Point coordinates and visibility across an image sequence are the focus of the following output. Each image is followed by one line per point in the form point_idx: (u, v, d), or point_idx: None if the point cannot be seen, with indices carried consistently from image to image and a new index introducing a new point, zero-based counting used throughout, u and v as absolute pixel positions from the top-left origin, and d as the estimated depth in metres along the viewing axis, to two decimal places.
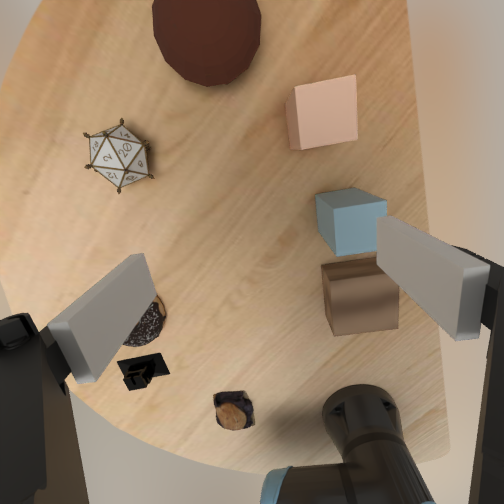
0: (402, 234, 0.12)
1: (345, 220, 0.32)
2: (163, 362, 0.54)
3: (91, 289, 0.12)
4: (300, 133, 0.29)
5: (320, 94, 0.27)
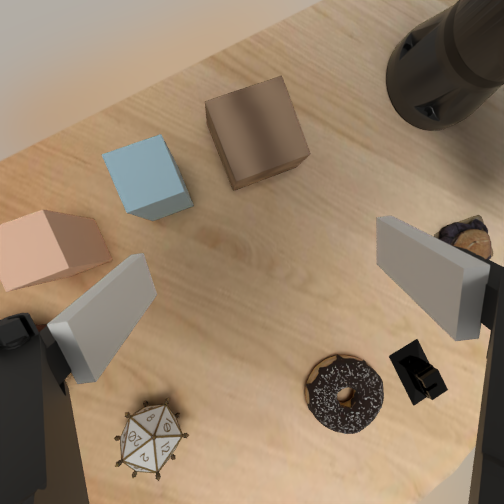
0: (402, 234, 0.12)
1: (137, 194, 0.27)
2: (402, 349, 0.43)
3: (91, 289, 0.12)
4: (52, 273, 0.26)
5: (7, 262, 0.25)
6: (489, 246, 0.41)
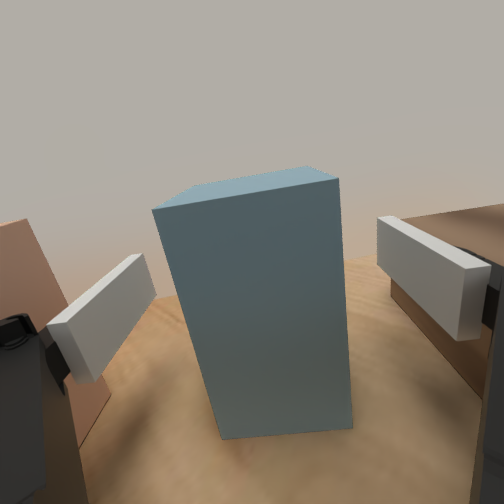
0: (403, 234, 0.12)
1: (206, 195, 0.10)
2: None
3: (90, 289, 0.11)
4: None
5: None
6: None
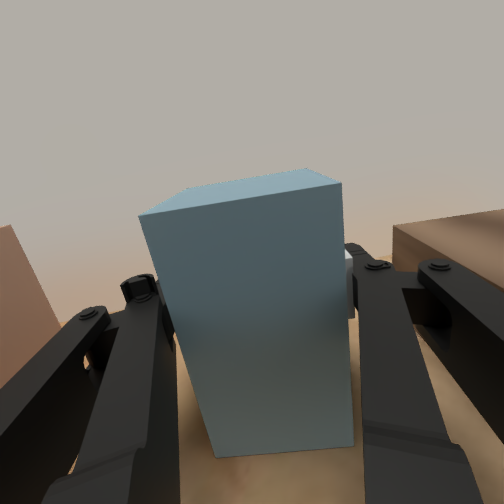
0: None
1: (198, 199, 0.09)
2: None
3: None
4: None
5: None
6: None
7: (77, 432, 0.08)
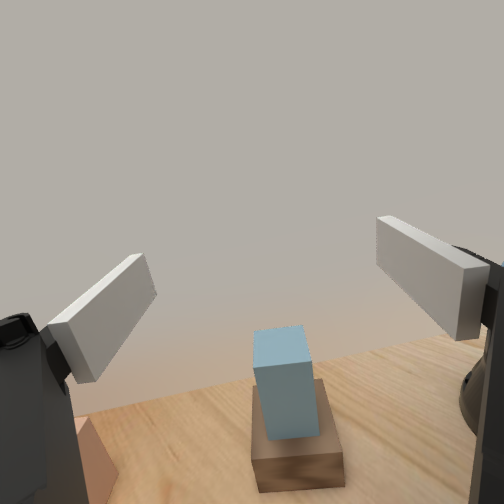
0: (402, 234, 0.12)
1: (267, 356, 0.29)
2: None
3: (91, 289, 0.12)
4: None
5: None
6: None
7: None
